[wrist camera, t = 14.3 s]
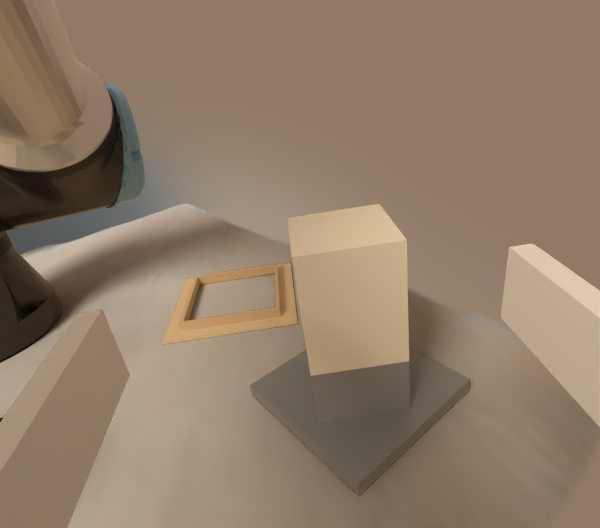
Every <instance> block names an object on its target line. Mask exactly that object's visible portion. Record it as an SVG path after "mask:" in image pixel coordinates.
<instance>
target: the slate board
mask: <svg viewBox="0 0 600 528" xmlns="http://www.w3.org/2000/svg"><path fill="white" fill-rule="evenodd" d="M409 377H410V410H403V411H396V412H390V413H383V414H376V415H370V416H363V417H356V418H349V419H343V420H336V421H329V422H323V423H318V419H317V413H316V407H315V400H314V394H313V388H312V382H311V376H310V369H309V363H308V357H307V351H306V350H305V351H304V352H302V353H300V354H299V355H297V356H296V357H294V358H293V359H291V360H289V361H288V362H286V363H285V364H283V365H282V366H280V367H278V368H277V369H275V370H274V371H272V372H271V373H269V374H267V375H266V376H264V377H263V378H261V379H260V380H258V381H256V382H255V383H253V384H252V385H250V388H251V392H252V396H253V397H255V398H256V399H257V400H258V401H259V402H260V403H261V404H262V405H263V406H264V407H265V408H266V409H267V410H268V411H269V412H270V413H271V414H273V415H274V416H275V417H276V418H277V419H278V420H279V421H280V422H281V423H282V424H283V425H284V426H285V427H286V428H287V429H288V430H289V431H291V432H292V433H293V434H294V435H295V436H296V437H297V438H298V439H299V440H300V441H301V442H302V443H303V444H304V445H305V446H306V447H307V448H309V449H310V450H311V451H312V452H313V453H314V454H315V455H316V456H317V457H318V458H319V459H320V460H321V461H322V462H323V463H324V464H326V465H327V466H328V467H329V468H330V469H331V470H332V471H333V472H334V473H335V474H336V475H337V476H338V477H339V478H340V479H341V480H342V481H344V482H345V483H346V484H347V485H348V486H349V487H350V488H351V489H352V490H353V491H354V492H355V493H356V494H357V495H358V496H360V495H361V494H362V493H363V492H364V491H365V490H366V489H367V488H368V487H369V486H370V485H371V484H372V483H373V482H374V481H376V480H377V479H378V478H379V477H380V476H381V475H382V474H383V473H384V472H385V471H386V470H387V469H388V468H389V467H390V466H391V465H392V464H393V463H394V462H395V461H396V460H397V459H398V458H399V457H400V456H402V455H403V454H404V453H405V452H406V451H407V450H408V449H409V448H410V447H411V446H412V445H413V444H414V443H415V442H416V441H417V440H418V439H419V438H420V437H421V436H422V435H423V434H424V433H425V432H426V431H428V430H429V429H430V428H431V427H432V426H433V425H434V424H435V423H436V422H437V421H438V420H439V419H440V418H441V417H442V416H443V415H444V414H445V413H446V412H447V411H448V410H449V409H450V408H451V407H453V406H454V405H455V404H456V403H457V402H458V401H459V400H460V399H461V398H462V397H463V396H464V395H465V394H466V393H467V392H468V391H469V387H470V379H468V378H466V377H464V376H462V375H460V374H458V373H456V372H455V371H453V370H451V369H449V368H447V367H445V366H443V365H441V364H439V363H437V362H435V361H433V360H431V359H429V358H428V357H426V356H424V355H422V354H420V353H418V352H416V351H414V350H412V349H410V348H409Z"/></svg>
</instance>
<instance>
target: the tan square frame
mask: <svg viewBox="0 0 600 528" xmlns="http://www.w3.org/2000/svg"><path fill="white" fill-rule="evenodd" d="M267 274H274V275H275V307H273V308H267V309H260V310H253V311H247V312H240V313H234V314H227V315H221V316H214V317H208V318H201V319H195V320H189V318H190V315H191V312H192V308H193V305H194V302H195V299H196V295H197V292H198V289H199V285H202V284H208V283H215V282H221V281H228V280H234V279H241V278H248V277H254V276H261V275H267ZM294 324H298V323H297V314H296V305H295V296H294V288H293V279H292V270H291V263H287V264H280V265H278V264H272V265H265V266H259V267H252V268H246V269H239V270H233V271H226V272H220V273H213V274H207V275H200V276H195V277H194V278H189V279H186V281H185V284H184V286H183V289H182V292H181V294H180V297H179V300H178V302H177V305H176V308H175V310H174V313H173V316H172V318H171V321H170V324H169V326H168V329H167V332H166V334H165V337H164V340H163V342H162V345H163V344H169V343H176V342H182V341H189V340H196V339H202V338H209V337H215V336H222V335H228V334H235V333H241V332H248V331H254V330H261V329H267V328H274V327H280V326H287V325H294Z"/></svg>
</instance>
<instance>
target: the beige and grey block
mask: <svg viewBox="0 0 600 528" xmlns="http://www.w3.org/2000/svg"><path fill="white" fill-rule="evenodd" d="M287 219H288V228H289V238H290V248H291V257H292V263H293V270H294V276H295V282H296V288H297V294H298V301H299V307H300V313H301V319H302V326H303V332H304V338H305V344H306V351H307V357H308V363H309V369H310V376H311V382H312V388H313V394H314V400H315V407H316V413H317V419H318V423H323V422H329V421H336V420H343V419H349V418H356V417H363V416H370V415H376V414H383V413H390V412H396V411H403V410H410V377H409V325H408V277H407V275H408V273H407V240H406V238H405V237H404V236H403V234H402V233H401V232H400V230H399V229H398V228H397V227H396V225H395V224H394V223H393V221H392V220H391V219H390V217H389V216H388V215H387V213H386V212H385V211H384V209H383V208H382V207H381V206H380V204H375V205H368V206H362V207H355V208H348V209H341V210H335V211H329V212H321V213H315V214H309V215H302V216H295V217H289V218H287Z"/></svg>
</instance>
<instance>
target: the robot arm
mask: <svg viewBox="0 0 600 528" xmlns="http://www.w3.org/2000/svg"><path fill="white" fill-rule="evenodd" d="M144 185H145V175H144V165H143V159H142V156H141V153H140V144H139V138H138V134H137V130H136V126H135V122H134V119H133V115H132V112H131V109H130V106H129V104H128V101H127V99H126V96H125V94H124V92H123V91H122V90H121V89H120V88H119V87H117V86H115V85H108V84H105V83H103V82H102V81H101V79H100V78H99V77H98V76H97V75H96V74H95V73H94V72H93V71H92V70H91V69H89V68H88V67H87V66H85V65H84V64H82V63H80V62H79V61H77V60H76V57H75V54H74V52H73V49H72V46H71V44H70V41H69V39H68V36H67V34H66V31H65V28H64V26H63V23H62V20H61V18H60V15H59V13H58V10H57V8H56V5H55V2H54V0H0V360H2V359H5V358H6V357H8V356H10V355H12V354H14V353H16V352H18V351H19V350H21V349H23V348H24V347H26V346H28V345H29V344H31V343H32V342H34V341H35V340H36V339H38V338H39V337H40V336H42V335H43V334H44V333H45V332H46V331H47V330H48V329H50V328H51V327H52V325H53V324H54V323H55V322H56V321H57V319H58V318H59V316H60V314H61V311H62V305H61V303H60V300H59V298H58V296H57V294H56V292H55V290H54V289H53V287H52V286H51V285H50V284H49V283H48V282H47V281H46V280H45V279H44V278H43V277H42V276H41V275H40V274H39V273H38V272H37V271H36V270H35V269H34V268H33V267H32V266H31V265H30V264H29V263H28V262H27V261H26V260H25V259H24V258H23V257H22V256H20V255H19V254H18V253H17V251H16V250H15V249H14V247H13V245H12V243H11V241H10V239H9V237H8V235H7V233H6V231H7V230H11V229H16V228H19V227H23V226H27V225H31V224H36V223H40V222H44V221H48V220H53V219H57V218H61V217H66V216H69V215H74V214H78V213H83V212H87V211H91V210H95V209H99V208H104V207H106V208H113V207H115V206H116V205H118V204H120V203H123V202H126V201H130V200H134V199H136V198H137V197H139V196H140V195H141V193H142V192H143V190H144ZM501 318H502V319H503V320H504V322H505V323H506V324H507V325H508V326H509V327H510V328H511V329H512V330H513V332H514V333H515V334H516V335H517V336H518V337H519V338H520V339H521V340H522V342H523V343H524V344H525V345H526V346H527V347H528V348H529V349H530V350H531V351H532V353H533V354H534V355H535V356H536V357H537V358H538V359H539V360H540V361H541V363H542V364H543V365H544V366H545V367H546V368H547V369H548V370H549V371H550V373H551V374H552V375H553V376H554V377H555V378H556V379H557V380H558V381H559V383H560V384H561V385H562V386H563V387H564V388H565V389H566V390H567V391H568V392H569V394H570V395H571V396H572V397H573V398H574V399H575V400H576V401H577V402H578V404H579V405H580V406H581V407H582V408H583V409H584V410H585V411H586V412H587V414H588V415H589V416H590V417H591V418H592V419H593V420H594V421H595V422H596V424H597V425H598V426H599V427H600V291H599V290H598V289H596V288H595V287H594V286H592V285H591V284H589V283H588V282H586V281H585V280H584V279H582V278H581V277H579V276H578V275H577V274H575V273H574V272H572V271H571V270H569V269H568V268H567V267H565V266H564V265H562V264H561V263H560V262H558V261H557V260H555V259H554V258H552V257H551V256H550V255H548V254H547V253H545V252H544V251H543V250H541V249H539V248H538V247H537V246H535V245H534V244H527V245H520V246H513V247H509V254H508V262H507V270H506V278H505V286H504V294H503V302H502V310H501ZM129 375H130V374H129V372H128V369H127V367H126V365H125V362H124V360H123V358H122V355H121V353H120V350H119V348H118V346H117V343H116V341H115V339H114V336H113V334H112V332H111V329H110V327H109V324H108V322H107V320H106V317H105V315H104V313H103V310H102V309H99V310H92V311H86V312H79V313H77V315H76V316H75V317H74V319H73V320H72V322H71V323H70V324H69V326H68V327H67V329H66V330H65V332H64V333H63V334H62V336H61V337H60V339H59V340H58V341H57V343H56V344H55V346H54V347H53V349H52V350H51V351H50V353H49V354H48V356H47V357H46V358H45V360H44V361H43V363H42V364H41V366H40V367H39V368H38V370H37V371H36V373H35V374H34V375H33V377H32V378H31V380H30V381H29V382H28V384H27V385H26V387H25V388H24V390H23V391H22V392H21V394H20V395H19V397H18V398H17V399H16V401H15V402H14V404H13V405H12V407H11V408H10V409H9V411H8V412H7V414H6V415H5V416H4V418H0V528H67V526H68V524H69V522H70V519H71V517H72V514H73V512H74V509H75V507H76V505H77V502H78V500H79V497H80V495H81V492H82V490H83V487H84V485H85V483H86V480H87V478H88V475H89V473H90V470H91V468H92V465H93V463H94V461H95V458H96V456H97V453H98V451H99V448H100V446H101V444H102V441H103V439H104V436H105V434H106V431H107V429H108V426H109V424H110V422H111V419H112V417H113V414H114V412H115V409H116V407H117V404H118V402H119V400H120V397H121V395H122V392H123V390H124V387H125V385H126V383H127V380H128V378H129Z"/></svg>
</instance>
